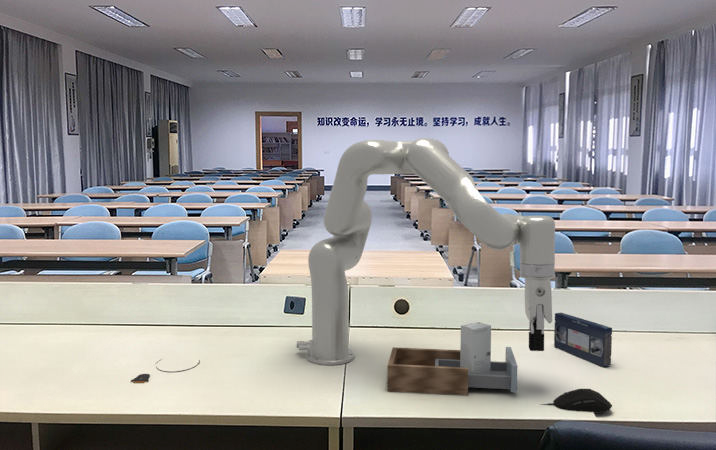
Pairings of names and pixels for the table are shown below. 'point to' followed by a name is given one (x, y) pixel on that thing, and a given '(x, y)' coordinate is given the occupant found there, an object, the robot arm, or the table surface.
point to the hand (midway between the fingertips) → (536, 349)
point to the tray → (491, 373)
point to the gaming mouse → (582, 401)
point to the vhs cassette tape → (583, 339)
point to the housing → (425, 372)
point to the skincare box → (476, 348)
